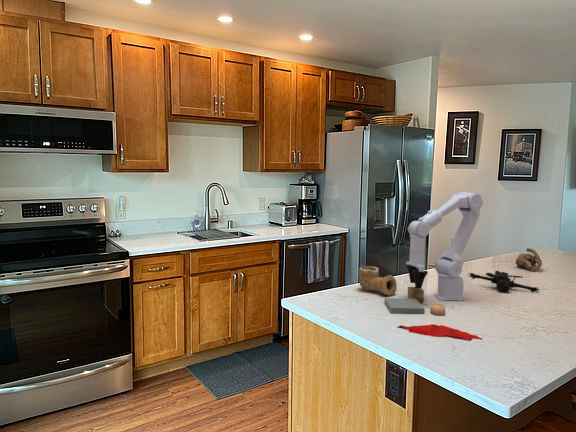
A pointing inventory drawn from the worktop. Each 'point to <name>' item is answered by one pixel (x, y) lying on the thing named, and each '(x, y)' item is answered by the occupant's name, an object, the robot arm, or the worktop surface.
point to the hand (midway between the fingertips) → (415, 285)
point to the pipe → (376, 281)
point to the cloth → (439, 331)
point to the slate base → (404, 306)
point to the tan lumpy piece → (529, 261)
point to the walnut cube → (416, 294)
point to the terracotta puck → (437, 309)
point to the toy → (503, 281)
